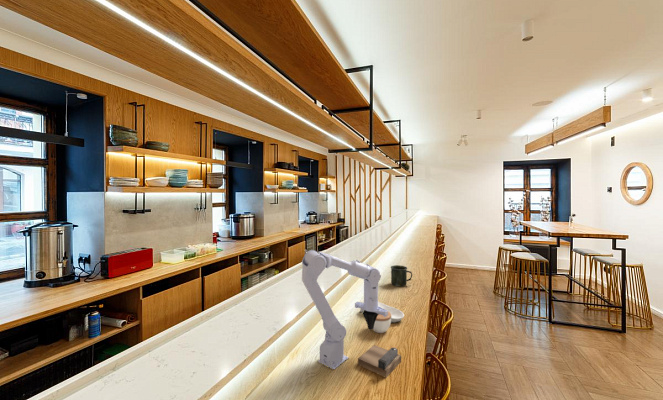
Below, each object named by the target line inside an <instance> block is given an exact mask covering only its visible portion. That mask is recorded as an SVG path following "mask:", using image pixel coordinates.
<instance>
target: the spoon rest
mask: <svg viewBox="0 0 663 400" xmlns="http://www.w3.org/2000/svg"><path fill="white" fill-rule="evenodd" d="M378 306H379V307H381V308H383V309H385V310H388V311H389V312H390V313H391V323H397V322H400V321H401V320H403V319H404V318H405V314H404V312H403V311H401V310H400V309H399V308H396V307H393V306H391V305H390V306H389V305H387V304H386V303H383V302H380V301H378ZM359 312H360V313H363V312H364V309H361V308H359Z"/></svg>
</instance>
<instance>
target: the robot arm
mask: <svg viewBox="0 0 663 400" xmlns="http://www.w3.org/2000/svg"><path fill="white" fill-rule="evenodd" d="M301 265H302V269H301V270H302V271H301V282H302V283H303V285H304V286H305V288H306V291H307V293H308V294H309V296H310V298H311V300H312V302H313V304H314V305H315V308H316V310H317V311H318V314H319V315H320V317H321V320H322V326H323V329H324V331H325V336H324V340H323V341H322V343H321V344H320V345H319V359H318V360H317V362H318V363H319V364H321V363H322V364H321V365H323V364H324V365H323V366H325V365H326V366H325V367H327V366H328V367H327V368H329V367H330V368H329V369H331V368H332V369H331V370H333V369H334V370H336V369H337V368H338V367H340V366H341V365H342V364H343V363H344V362H346V361H347V360H348V359H349V356H347V355H345V354H344V353H345V351H344V348H345V347H344V346H345V345H344V344H345V343H344V341H345V340H344V339H345V337H346V335H347V329H346V327H345V326H344V325H343V324H342V323H341V322H340V321H339V319H338V318H337V316H336V315H335V313H334V311H333V309H332V307H331V305H330V303H329V302H328V299H327V298H326V296H325V294H324V291H322V289H321V287H320V284H319V282H318V278H319V276H320V275H321V274H322V273H323V271H324V270H325V269H329V268H330V267H336V268H338V269H342V270H346V271H347V273H348V275H351V276H353V277H355V278H359V279H361V280H363V302H361V301H356V302H355V303H354V308H356V309H364V311H363V312H362V315H363V317H364V320H365V321H366V326H367V329H368V330H370V331H372V330H373V328H374V324H375V320H376V318H377V316H378V314H380V315H383V316H384V317H386V316H387V315H388V310H385V309H383V308H381V307H379V306H378V302H379V282H380V280H381V277H382V275H381V272H380V271H379V269H377V268H375V267H374V266H371V265H370V263H369V264H368V263H366V264H365V263H362V262H361V261H360V260H358V259H356V260H351V261H347V260H345V259H342V258H339V257H337V256H335V255H331V254H330V253H326V252H323V251H318V252H317V250H314V249H311V250H308V251H306V253H304V256H303V258H302V260H301ZM345 360H346V361H345ZM341 363H342V364H341ZM340 364H341V365H340Z"/></svg>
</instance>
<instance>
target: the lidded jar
mask: <svg viewBox="0 0 663 400" xmlns="http://www.w3.org/2000/svg"><path fill="white" fill-rule="evenodd" d="M391 323H392V322H391V313H390V312H389V311H388V315H387V316H386V317H384V316H383V315H380V314H378V316H377V318H376V320H375V324H374V328H373V329H372V330H373V331H374V332H375V333H379V334H385V332H387V330H389V328H390V327H391Z"/></svg>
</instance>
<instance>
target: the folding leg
mask: <svg viewBox="0 0 663 400" xmlns="http://www.w3.org/2000/svg"><path fill="white" fill-rule="evenodd" d="M388 350H389V351H388V352H387V353H386V354H385V355H384V356H383V357H382V358H381V359H379V360H378V367H379V368H382V369H384V370H385V369H386V367H387V366H388V365H389V364H390V363H391V362H392V361H393V360H394V359H395V358H396V357H397V356H398V354H399V351H398V349H397V347H390V349H388Z"/></svg>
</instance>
